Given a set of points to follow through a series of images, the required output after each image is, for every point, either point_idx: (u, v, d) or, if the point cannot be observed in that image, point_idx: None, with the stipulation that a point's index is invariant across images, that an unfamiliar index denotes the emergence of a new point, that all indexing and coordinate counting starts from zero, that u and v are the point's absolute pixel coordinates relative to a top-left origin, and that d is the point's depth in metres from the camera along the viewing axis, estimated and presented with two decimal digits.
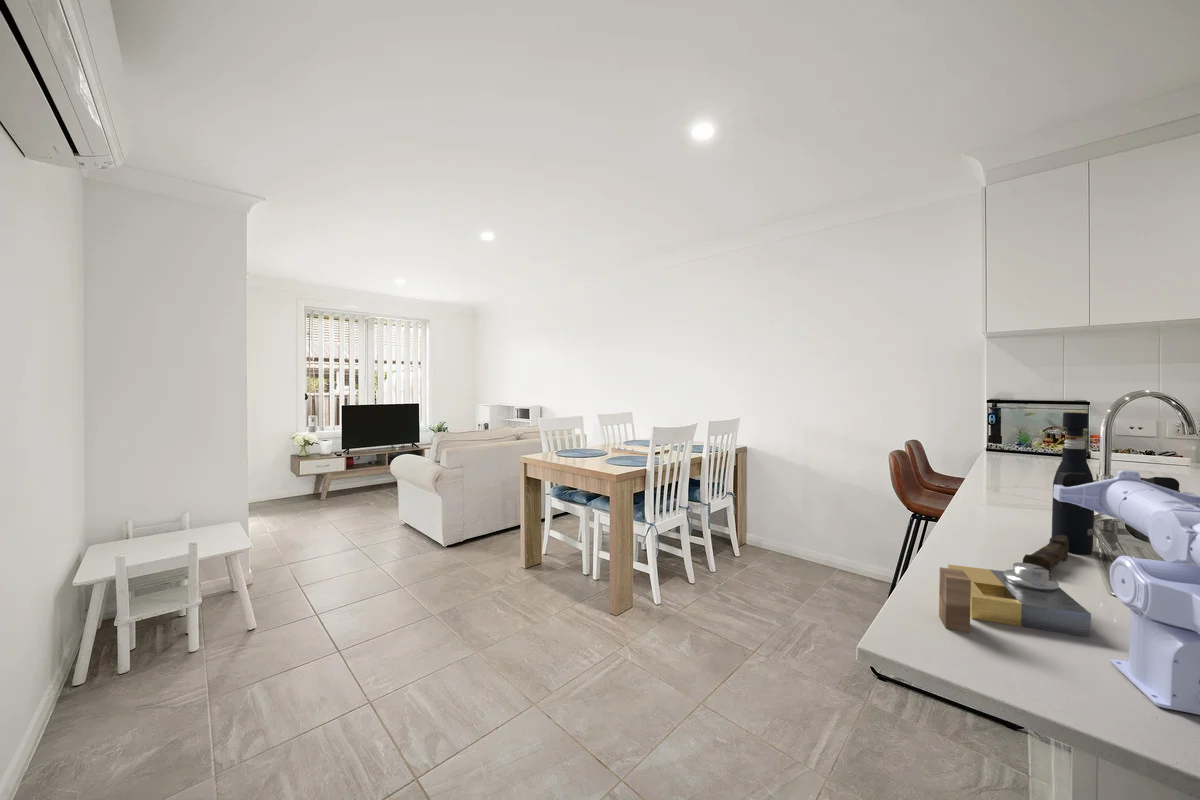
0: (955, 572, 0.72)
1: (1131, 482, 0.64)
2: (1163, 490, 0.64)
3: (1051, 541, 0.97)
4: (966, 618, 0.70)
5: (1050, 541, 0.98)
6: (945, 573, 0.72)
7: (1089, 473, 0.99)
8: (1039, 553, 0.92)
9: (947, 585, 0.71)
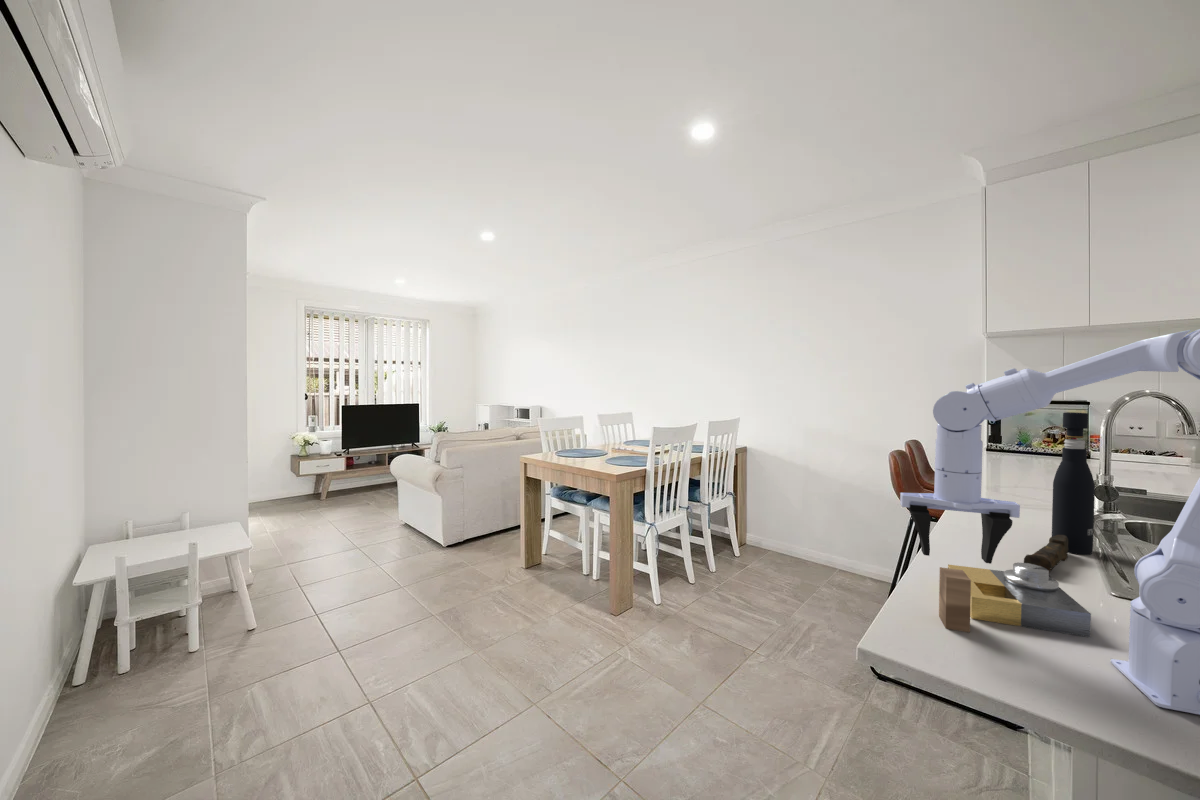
0: (955, 572, 0.72)
1: (965, 493, 0.69)
2: None
3: (1051, 541, 0.97)
4: (966, 618, 0.70)
5: (1050, 541, 0.98)
6: (945, 573, 0.72)
7: (1089, 473, 0.99)
8: (1040, 553, 0.92)
9: (947, 585, 0.71)
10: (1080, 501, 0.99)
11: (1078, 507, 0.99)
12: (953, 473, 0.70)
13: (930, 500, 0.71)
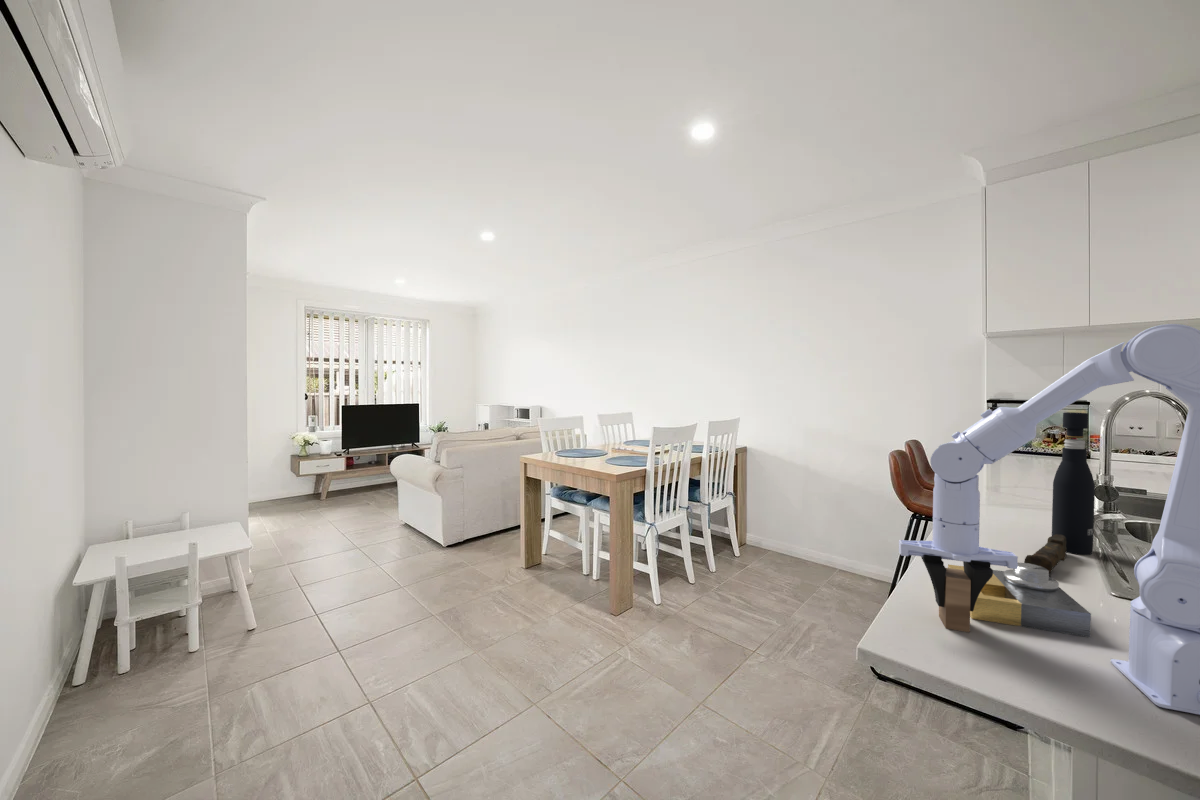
0: (955, 572, 0.72)
1: (964, 544, 0.69)
2: None
3: (1049, 541, 0.98)
4: (966, 618, 0.70)
5: (1048, 541, 0.98)
6: None
7: (1089, 473, 0.99)
8: (1040, 553, 0.92)
9: (947, 585, 0.71)
10: (1080, 501, 0.99)
11: (1078, 507, 0.99)
12: (951, 524, 0.70)
13: (929, 550, 0.72)
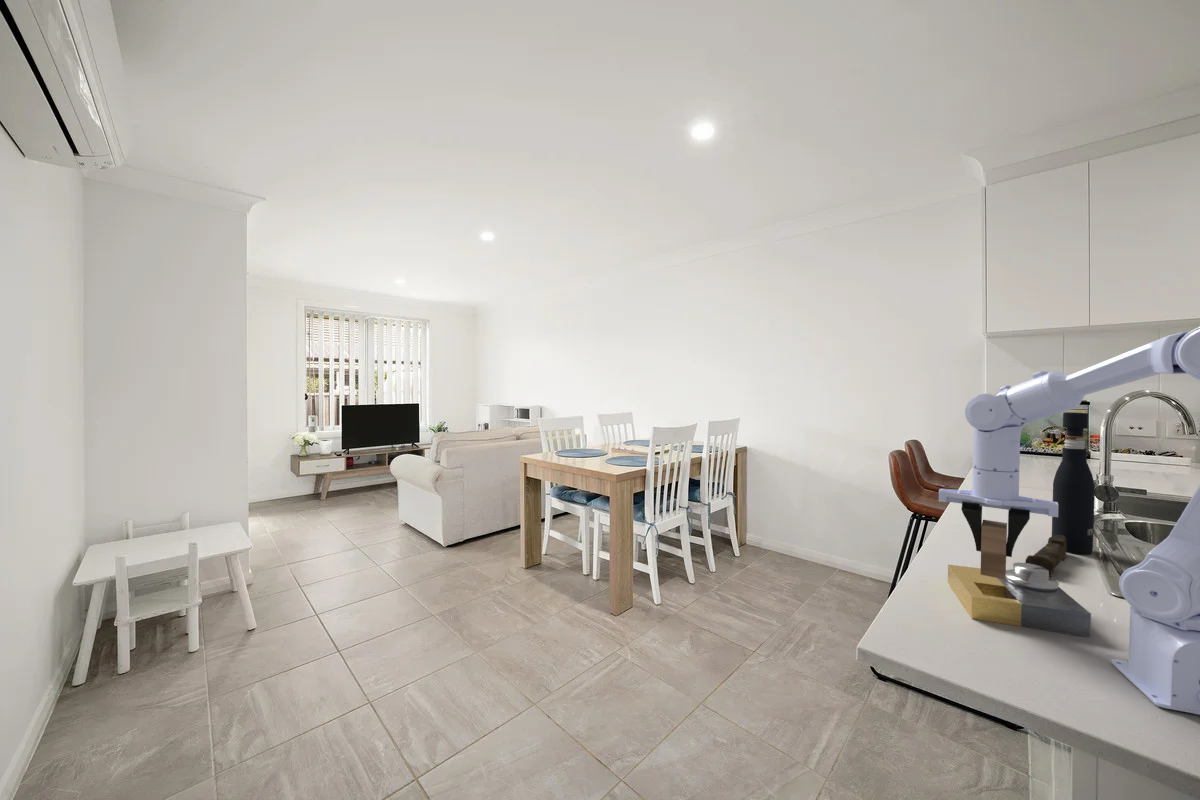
0: (996, 523, 0.75)
1: (997, 490, 0.73)
2: None
3: (1050, 541, 0.98)
4: (1001, 565, 0.73)
5: (1049, 541, 0.98)
6: (983, 523, 0.76)
7: (1089, 473, 0.99)
8: (1041, 554, 0.91)
9: (982, 533, 0.75)
10: (1080, 501, 0.99)
11: (1078, 507, 0.99)
12: (985, 471, 0.74)
13: (964, 496, 0.76)
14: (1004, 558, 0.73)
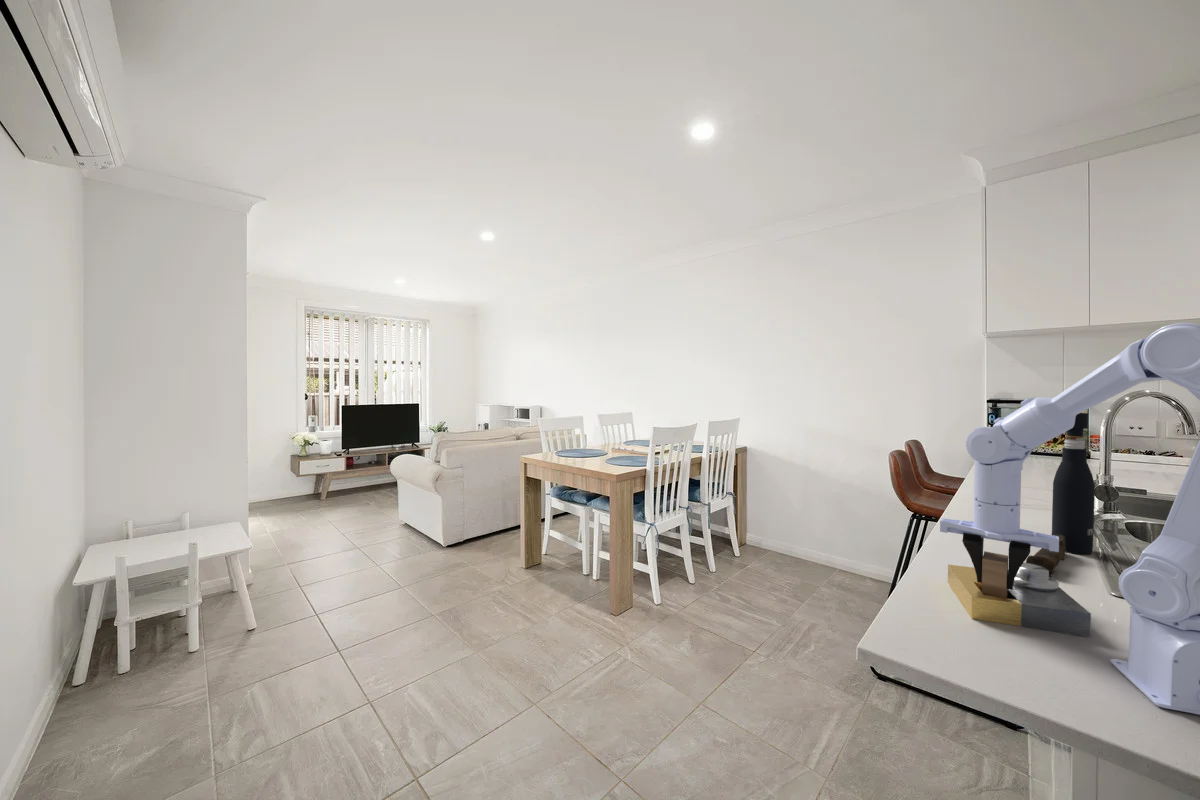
0: (997, 556, 0.76)
1: (998, 524, 0.73)
2: None
3: None
4: None
5: None
6: (984, 555, 0.76)
7: (1089, 473, 0.99)
8: (1041, 554, 0.91)
9: (983, 566, 0.75)
10: (1080, 501, 0.99)
11: (1078, 507, 0.99)
12: (986, 504, 0.74)
13: (965, 527, 0.77)
14: (1005, 592, 0.73)
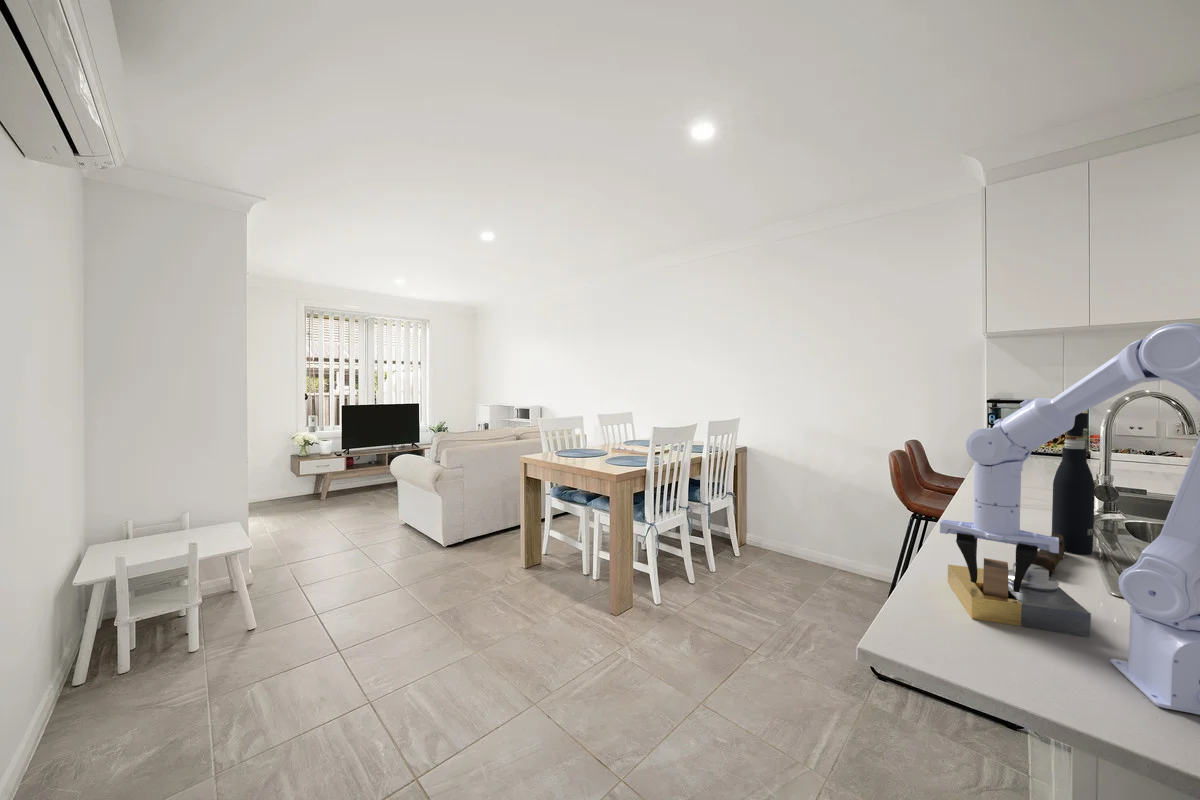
0: (997, 563, 0.76)
1: (998, 525, 0.73)
2: None
3: None
4: None
5: None
6: (985, 562, 0.76)
7: (1089, 473, 0.99)
8: (1042, 554, 0.91)
9: (984, 573, 0.75)
10: (1080, 501, 0.99)
11: (1078, 507, 0.99)
12: (986, 505, 0.74)
13: (965, 528, 0.77)
14: None
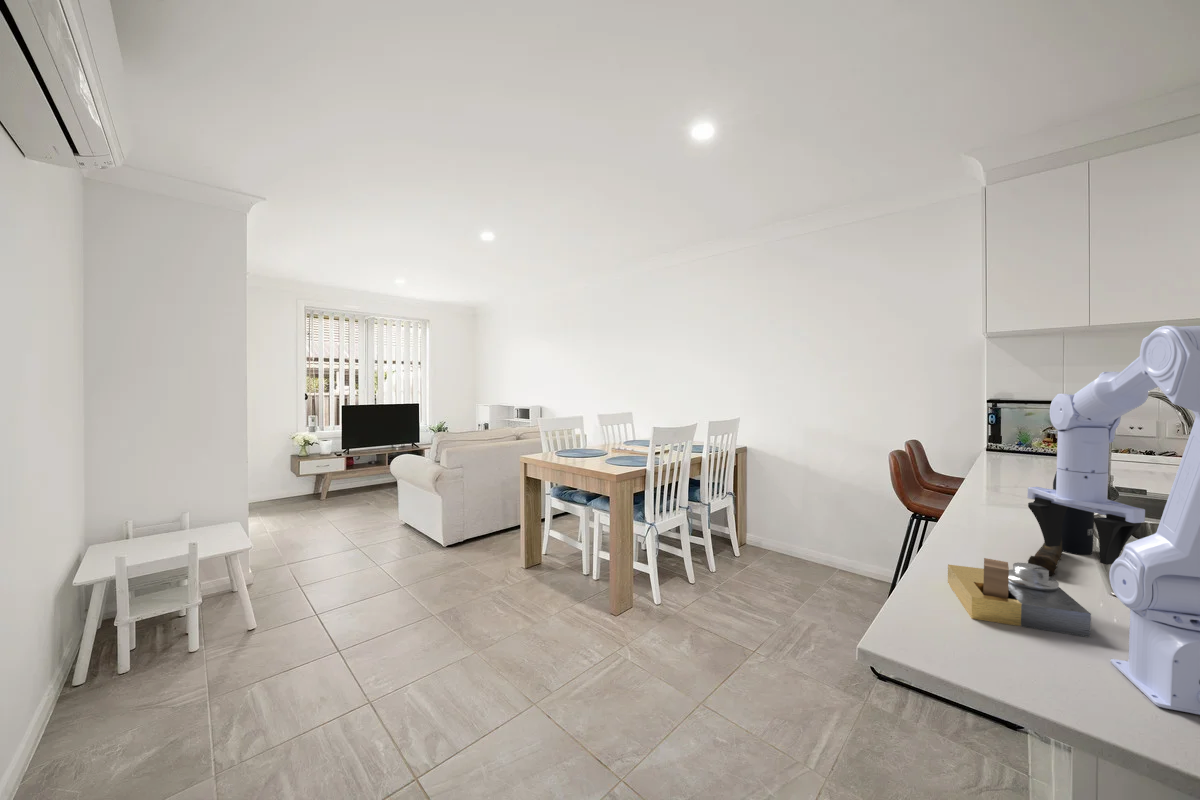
0: (997, 563, 0.76)
1: (1069, 490, 0.73)
2: None
3: None
4: None
5: None
6: (985, 562, 0.76)
7: None
8: (1042, 554, 0.91)
9: (985, 573, 0.75)
10: None
11: None
12: (1060, 470, 0.75)
13: (1045, 493, 0.78)
14: None
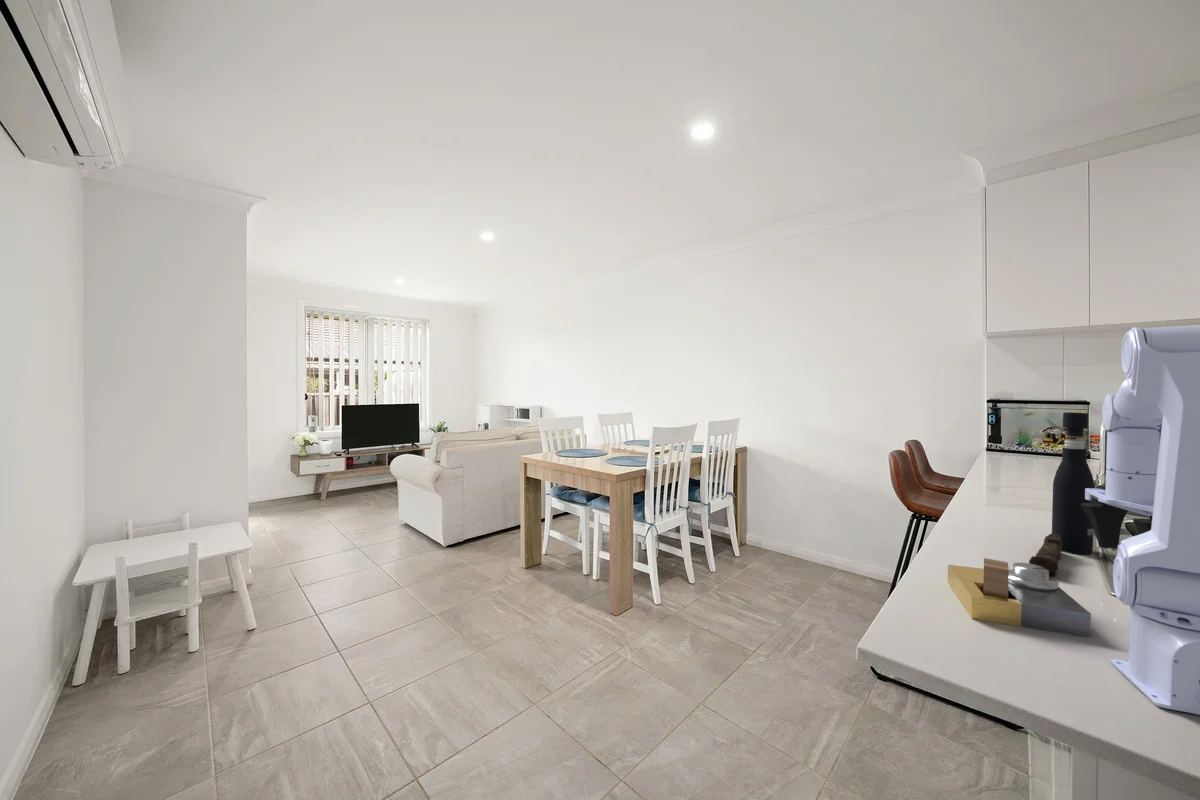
0: (997, 563, 0.76)
1: (1113, 490, 0.74)
2: None
3: (1046, 540, 0.98)
4: None
5: (1045, 540, 0.98)
6: (985, 562, 0.76)
7: (1089, 473, 0.99)
8: (1043, 554, 0.91)
9: (984, 573, 0.75)
10: (1080, 501, 0.99)
11: (1078, 507, 0.99)
12: (1106, 470, 0.75)
13: (1096, 494, 0.78)
14: None
